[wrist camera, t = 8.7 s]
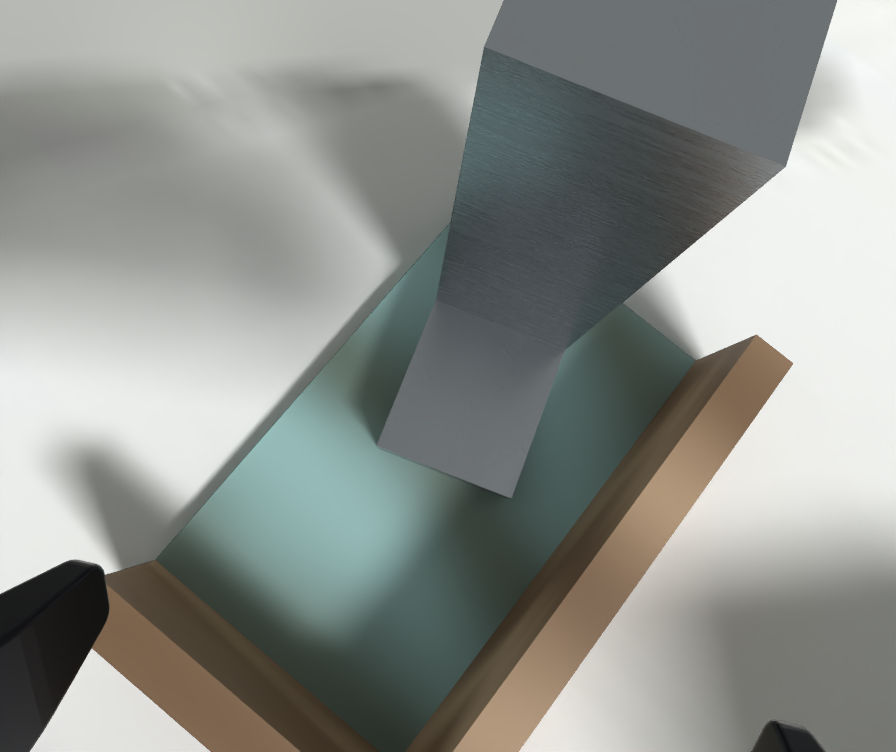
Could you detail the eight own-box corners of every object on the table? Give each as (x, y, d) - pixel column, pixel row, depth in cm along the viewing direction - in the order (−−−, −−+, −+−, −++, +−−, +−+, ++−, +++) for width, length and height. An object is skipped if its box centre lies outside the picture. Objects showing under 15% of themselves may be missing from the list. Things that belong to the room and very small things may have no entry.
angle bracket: (467, 228, 21) (563, -142, 9) (583, 274, 21) (845, -28, 9) (378, 448, 20) (341, 382, 7) (503, 497, 20) (677, 514, 7)
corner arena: (401, 824, 18) (401, 917, 14) (131, 592, 19) (59, 620, 15) (719, 386, 21) (793, 363, 17) (477, 195, 22) (494, 129, 18)
